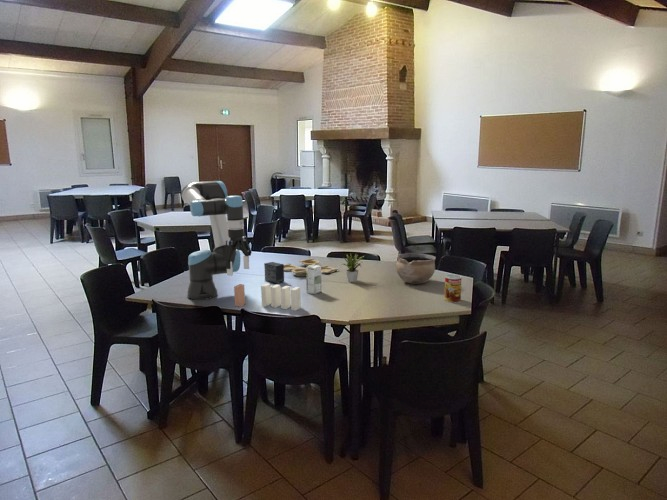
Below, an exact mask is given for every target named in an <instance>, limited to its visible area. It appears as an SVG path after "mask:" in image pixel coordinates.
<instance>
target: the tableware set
mask: <svg viewBox="0 0 667 500" xmlns="http://www.w3.org/2000/svg"><path fill="white" fill-rule="evenodd" d="M298 262H299V263H301V264H302V265H305V267H302V266H301V267H300V266H298V265H293V264H292V263H286V264H284V272H292V273H293V274H294V275H295V276H297V277H304V276H305V277H306V266H310V265H313V264H315V265H320V261H319V260H316V259H315V258H314V257H311V258H306V259H301V260H298ZM320 266H321V274H331V273H334V272H336V271H337V270H339V267H331V266H329V265H320Z"/></svg>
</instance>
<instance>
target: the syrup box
mask: <svg viewBox="0 0 667 500" xmlns="http://www.w3.org/2000/svg"><path fill="white" fill-rule="evenodd" d="M321 266H322V265H320V264H317V265H315V264H313V265H310V266H307V267H306V266H305V268H306V276H305V277H306V293H308V294H312V295H316V294H319V293H322V273H321Z"/></svg>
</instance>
